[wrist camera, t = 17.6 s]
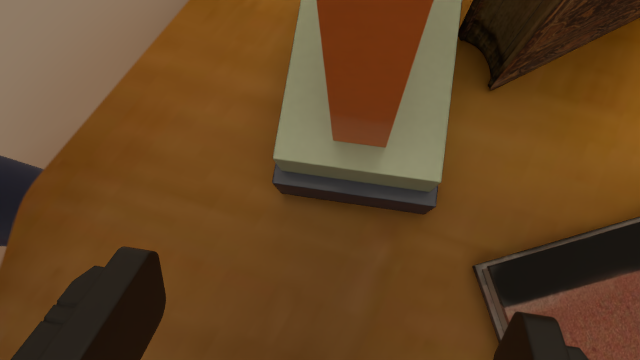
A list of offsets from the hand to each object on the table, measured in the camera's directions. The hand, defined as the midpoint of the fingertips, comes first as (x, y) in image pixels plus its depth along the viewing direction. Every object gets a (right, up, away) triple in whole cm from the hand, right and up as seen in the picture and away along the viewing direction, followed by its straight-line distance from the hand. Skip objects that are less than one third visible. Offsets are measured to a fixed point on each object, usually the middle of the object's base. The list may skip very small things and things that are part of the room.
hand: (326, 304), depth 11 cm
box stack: (+4, +11, +30) cm, 32 cm away
